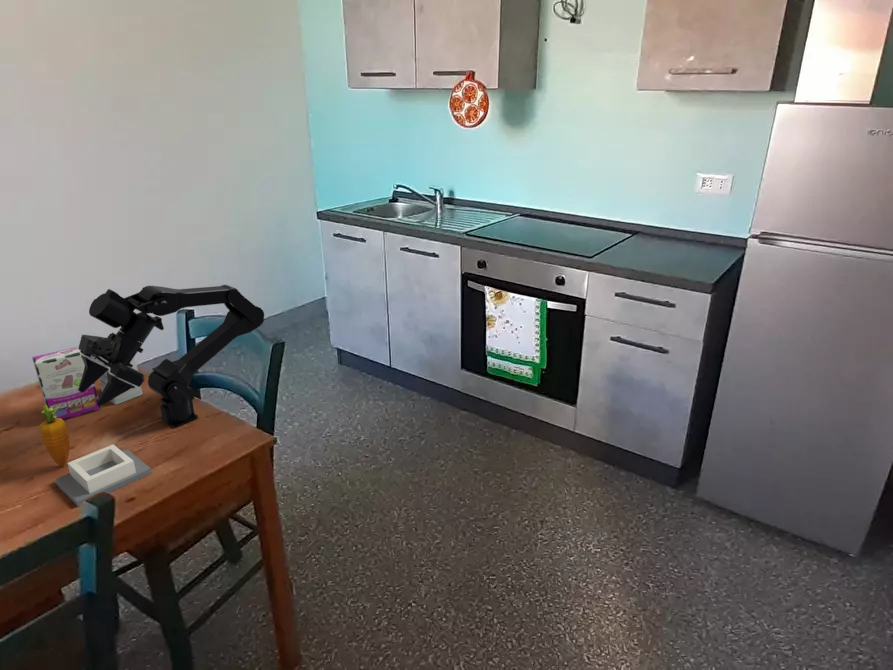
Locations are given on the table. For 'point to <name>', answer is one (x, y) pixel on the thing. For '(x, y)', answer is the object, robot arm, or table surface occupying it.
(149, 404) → the table surface
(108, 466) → the socket
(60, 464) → the carrot
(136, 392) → the supplement box
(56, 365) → the candy bar box
